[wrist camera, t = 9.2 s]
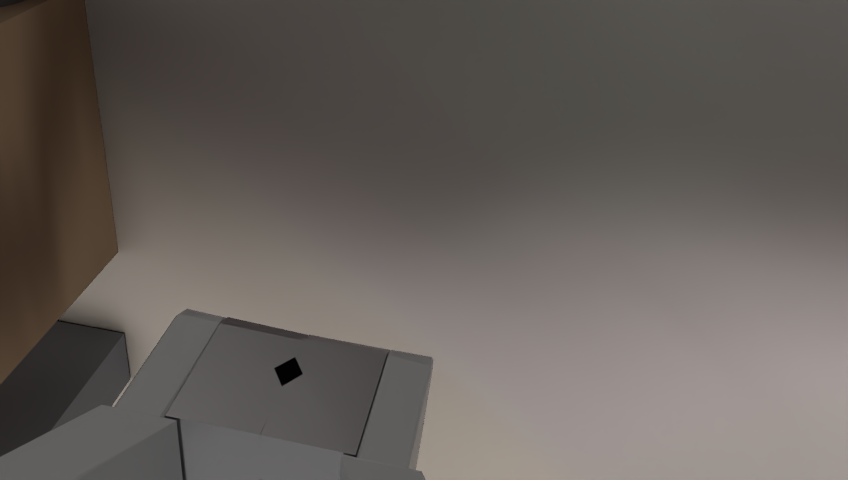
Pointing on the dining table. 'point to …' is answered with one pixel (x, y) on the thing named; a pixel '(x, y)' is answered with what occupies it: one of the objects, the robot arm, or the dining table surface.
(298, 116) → the dining table surface
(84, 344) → the bay
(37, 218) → the wooden block
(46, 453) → the robot arm
